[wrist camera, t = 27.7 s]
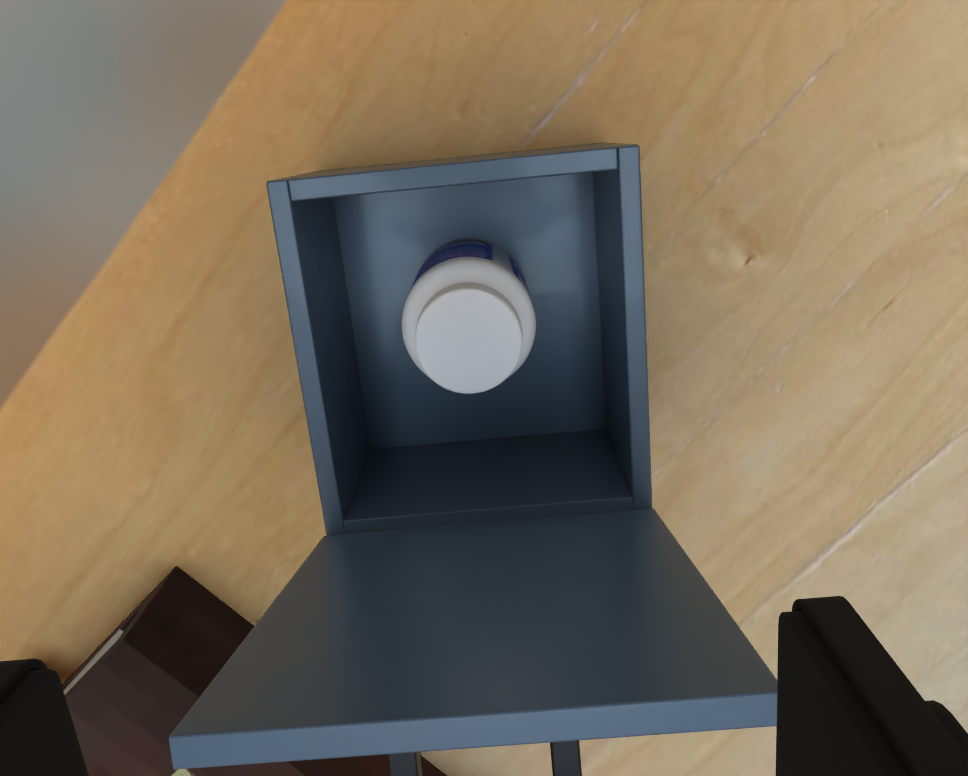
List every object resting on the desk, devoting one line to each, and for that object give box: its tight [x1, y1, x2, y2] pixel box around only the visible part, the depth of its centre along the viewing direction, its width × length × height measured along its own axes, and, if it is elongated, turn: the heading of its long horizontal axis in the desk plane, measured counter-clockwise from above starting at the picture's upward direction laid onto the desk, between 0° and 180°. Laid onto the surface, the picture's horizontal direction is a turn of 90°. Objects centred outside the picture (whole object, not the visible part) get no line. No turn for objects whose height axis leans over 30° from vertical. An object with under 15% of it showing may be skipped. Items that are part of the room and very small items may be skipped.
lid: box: [169, 509, 777, 776], centre depth 25 cm, size 15×14×5 cm
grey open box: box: [266, 143, 652, 536], centre depth 35 cm, size 15×14×9 cm
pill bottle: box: [402, 239, 536, 394], centre depth 34 cm, size 5×5×10 cm
